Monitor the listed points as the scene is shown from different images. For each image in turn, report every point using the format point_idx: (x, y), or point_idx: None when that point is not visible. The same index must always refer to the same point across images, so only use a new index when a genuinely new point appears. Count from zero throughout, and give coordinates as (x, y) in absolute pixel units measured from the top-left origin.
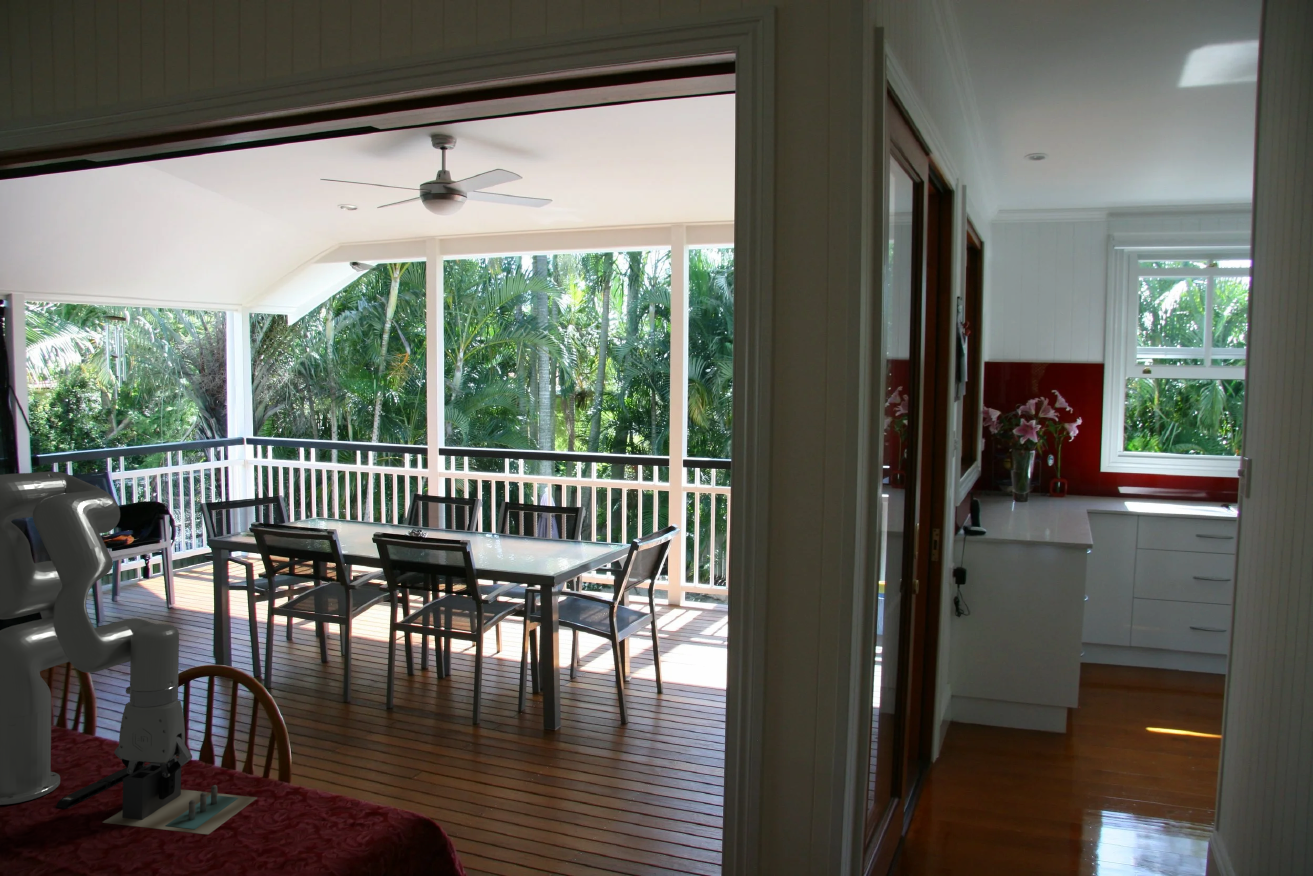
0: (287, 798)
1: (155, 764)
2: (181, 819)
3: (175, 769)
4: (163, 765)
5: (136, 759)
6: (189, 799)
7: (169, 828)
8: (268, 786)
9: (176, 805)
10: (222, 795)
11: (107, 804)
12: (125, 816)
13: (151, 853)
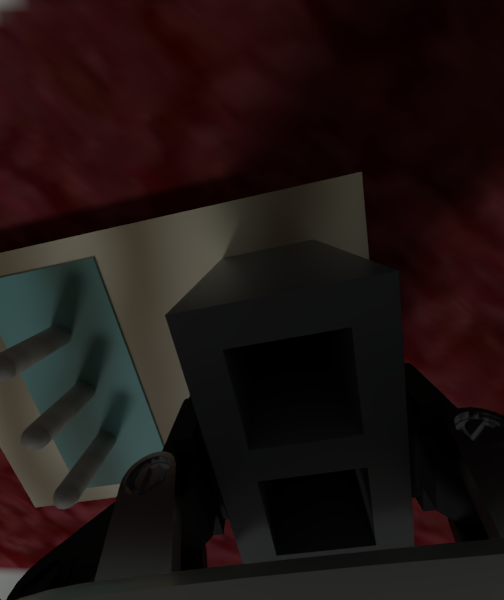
0: (28, 532)
1: None
2: (89, 318)
3: (62, 545)
4: (127, 564)
5: (462, 587)
6: None
7: (60, 249)
8: None
9: None
10: None
11: (499, 335)
12: (300, 242)
13: (22, 128)
